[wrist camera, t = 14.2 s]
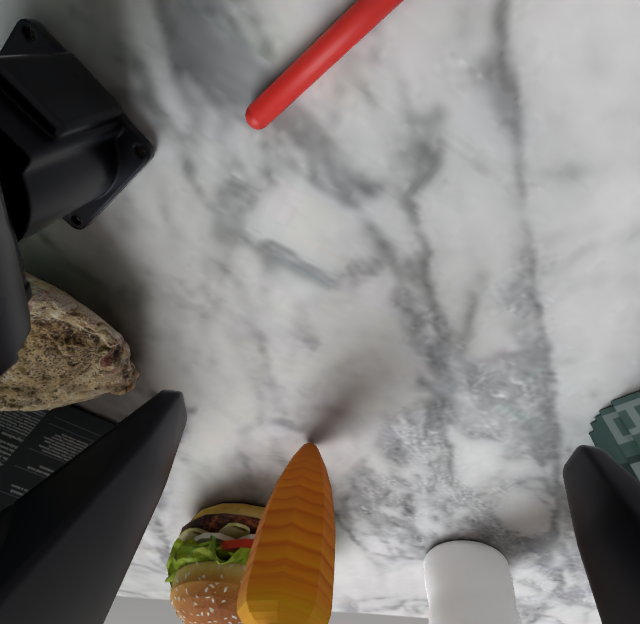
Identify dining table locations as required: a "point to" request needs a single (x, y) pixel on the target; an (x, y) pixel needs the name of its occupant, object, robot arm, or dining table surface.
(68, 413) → the box
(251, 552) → the carrot
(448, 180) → the dining table surface
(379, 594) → the dining table surface
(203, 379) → the dining table surface
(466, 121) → the dining table surface
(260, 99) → the spoon
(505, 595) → the water bottle
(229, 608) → the food
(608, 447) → the can
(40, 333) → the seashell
